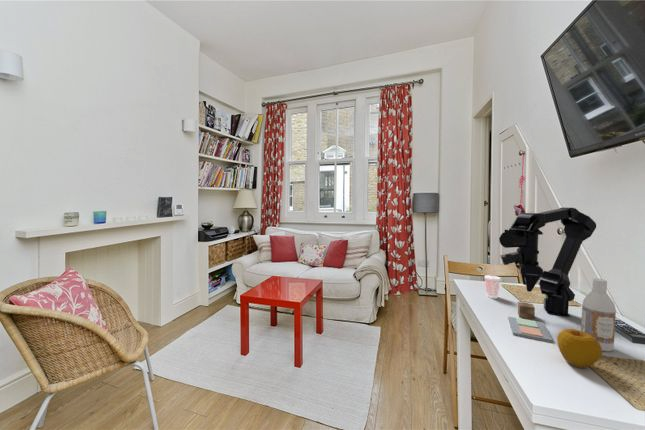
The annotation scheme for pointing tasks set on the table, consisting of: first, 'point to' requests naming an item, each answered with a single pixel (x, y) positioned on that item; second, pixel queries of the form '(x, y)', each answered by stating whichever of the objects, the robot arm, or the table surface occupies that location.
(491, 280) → the beverage cup
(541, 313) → the table surface
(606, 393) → the table surface
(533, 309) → the walnut block
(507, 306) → the table surface
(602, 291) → the bath foam
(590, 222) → the robot arm
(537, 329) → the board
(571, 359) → the apple
